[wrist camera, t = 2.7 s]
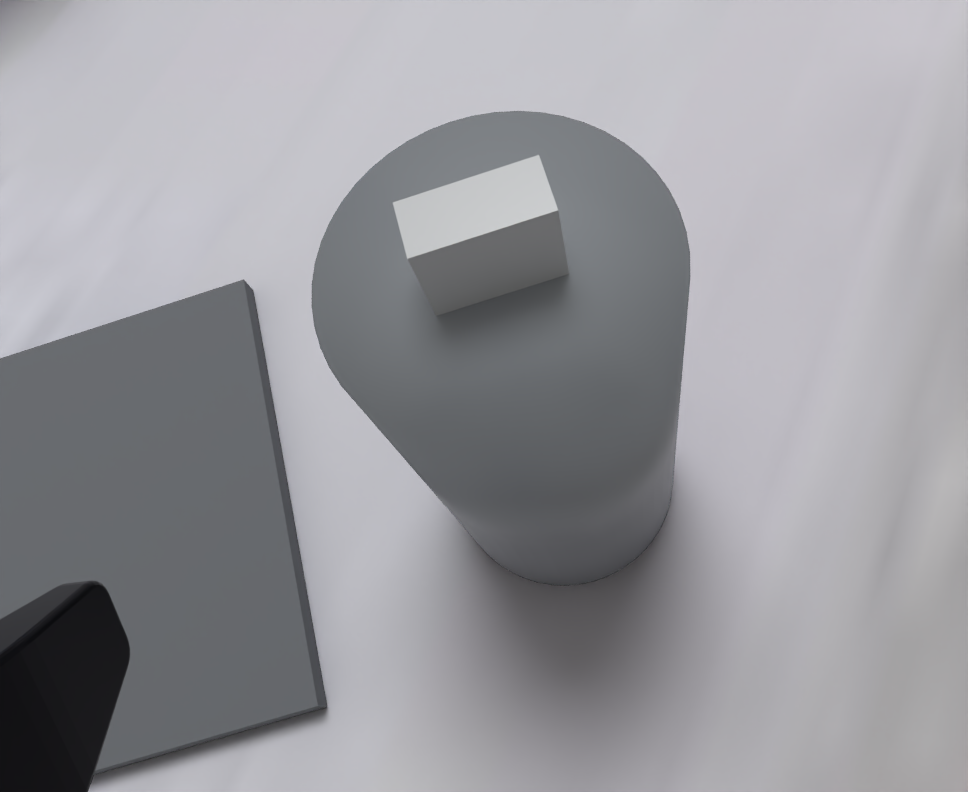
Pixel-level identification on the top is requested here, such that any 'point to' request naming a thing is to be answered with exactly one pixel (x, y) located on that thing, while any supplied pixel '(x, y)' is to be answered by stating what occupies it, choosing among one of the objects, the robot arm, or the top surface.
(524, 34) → the top surface
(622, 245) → the grey bottle
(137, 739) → the charcoal mat
